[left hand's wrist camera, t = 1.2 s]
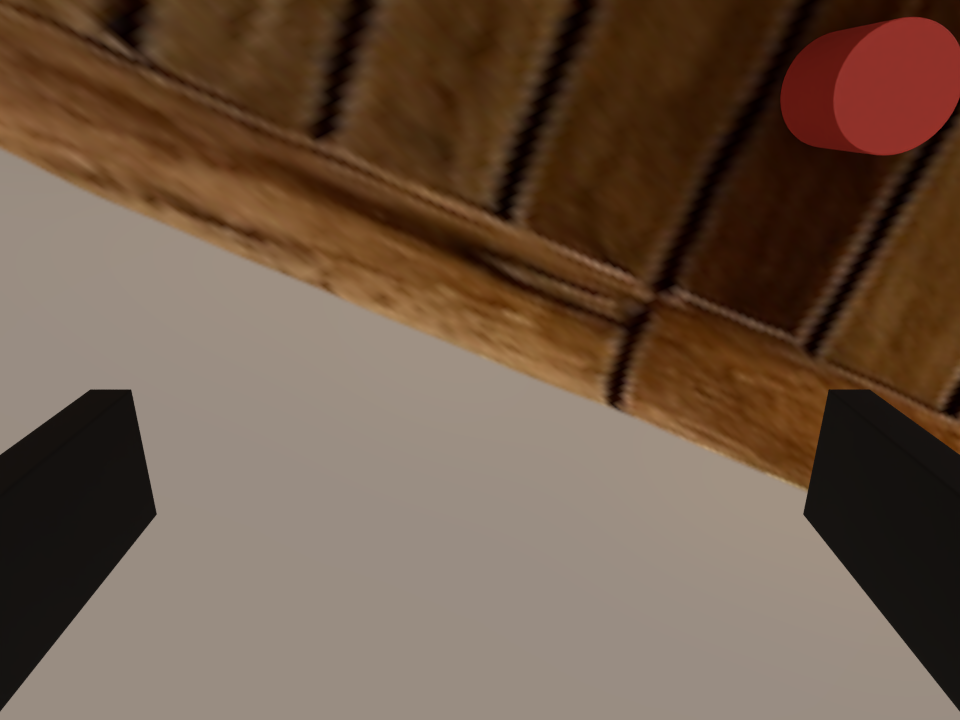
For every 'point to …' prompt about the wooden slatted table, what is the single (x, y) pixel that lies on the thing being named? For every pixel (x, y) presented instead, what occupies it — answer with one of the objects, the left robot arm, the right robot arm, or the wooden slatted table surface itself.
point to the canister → (873, 87)
